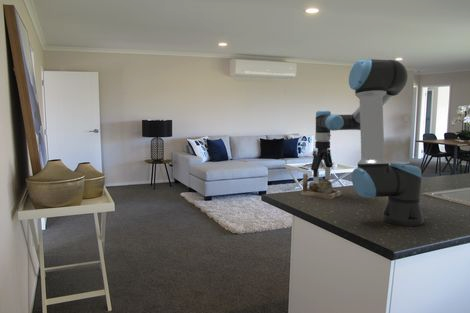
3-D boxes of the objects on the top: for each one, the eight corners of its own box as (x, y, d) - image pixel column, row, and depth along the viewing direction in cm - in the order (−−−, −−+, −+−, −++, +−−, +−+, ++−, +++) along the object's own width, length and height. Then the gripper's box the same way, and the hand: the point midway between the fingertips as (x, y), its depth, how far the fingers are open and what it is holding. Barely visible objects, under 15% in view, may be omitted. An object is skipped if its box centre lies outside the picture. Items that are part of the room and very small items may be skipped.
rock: (337, 193, 196) (331, 175, 196) (331, 197, 192) (325, 178, 192) (318, 197, 205) (312, 179, 205) (312, 200, 200) (305, 183, 200)
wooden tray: (330, 199, 189) (331, 177, 187) (300, 194, 199) (300, 174, 198) (341, 194, 199) (342, 174, 197) (312, 190, 209) (312, 170, 208)
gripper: (318, 142, 183) (317, 185, 186) (339, 139, 203) (338, 178, 205) (304, 141, 188) (303, 183, 190) (326, 139, 207) (325, 177, 210)
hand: (321, 181), depth 198 cm, fingers open, 13 cm apart
